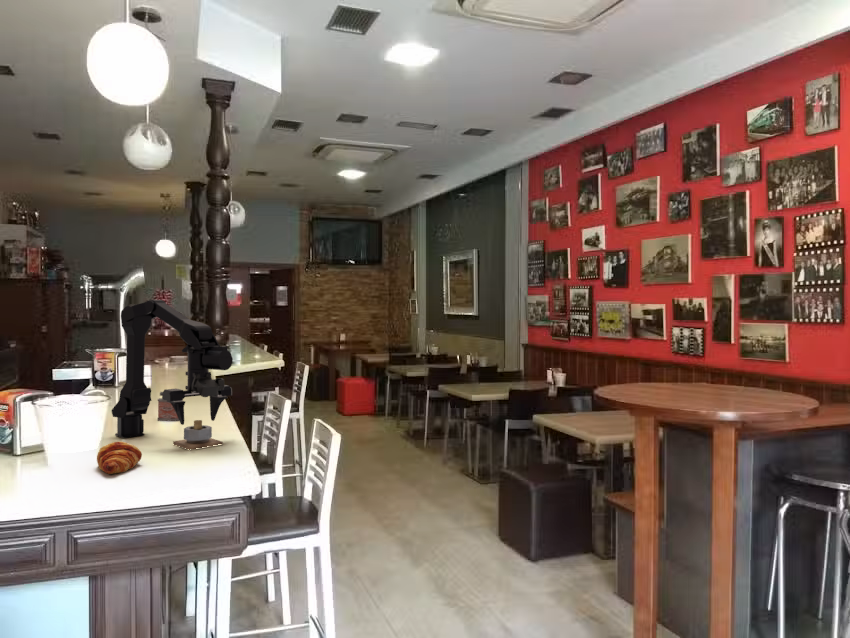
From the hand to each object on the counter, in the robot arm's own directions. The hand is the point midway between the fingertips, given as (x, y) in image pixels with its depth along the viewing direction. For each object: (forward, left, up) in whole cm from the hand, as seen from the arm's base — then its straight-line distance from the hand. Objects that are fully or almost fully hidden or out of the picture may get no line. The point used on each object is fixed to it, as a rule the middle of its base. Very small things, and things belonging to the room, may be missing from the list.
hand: (197, 422), depth 185 cm
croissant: (-25, -10, -7) cm, 28 cm away
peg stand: (0, 0, -6) cm, 6 cm away
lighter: (+11, +43, -7) cm, 45 cm away
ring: (0, 0, -4) cm, 4 cm away
